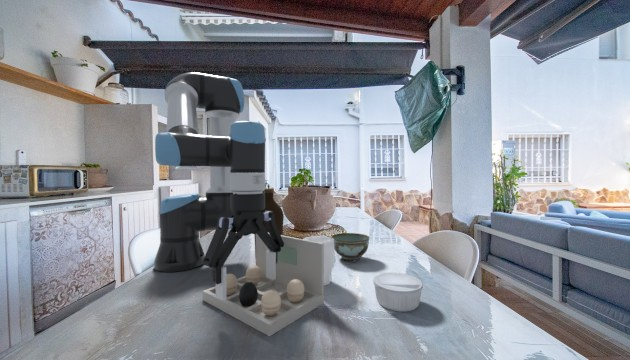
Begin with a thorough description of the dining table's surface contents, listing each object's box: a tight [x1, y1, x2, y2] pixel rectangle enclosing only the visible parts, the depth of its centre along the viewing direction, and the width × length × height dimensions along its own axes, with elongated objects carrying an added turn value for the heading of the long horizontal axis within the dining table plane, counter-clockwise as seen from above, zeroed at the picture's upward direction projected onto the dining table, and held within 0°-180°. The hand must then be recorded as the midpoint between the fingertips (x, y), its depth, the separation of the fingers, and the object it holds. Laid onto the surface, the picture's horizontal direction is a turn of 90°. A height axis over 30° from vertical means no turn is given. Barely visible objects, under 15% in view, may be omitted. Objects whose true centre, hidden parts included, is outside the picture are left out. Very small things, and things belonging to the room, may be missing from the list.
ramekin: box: [372, 271, 424, 313], centre depth 64 cm, size 11×11×5 cm
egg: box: [239, 282, 258, 307], centre depth 61 cm, size 4×4×5 cm
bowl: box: [331, 232, 370, 262], centre depth 97 cm, size 14×13×8 cm
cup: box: [302, 235, 335, 287], centre depth 76 cm, size 9×9×12 cm
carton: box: [202, 233, 325, 337], centre depth 64 cm, size 24×17×14 cm
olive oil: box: [253, 188, 284, 260], centre depth 97 cm, size 11×11×25 cm
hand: (248, 287), depth 61 cm, fingers open, 13 cm apart
